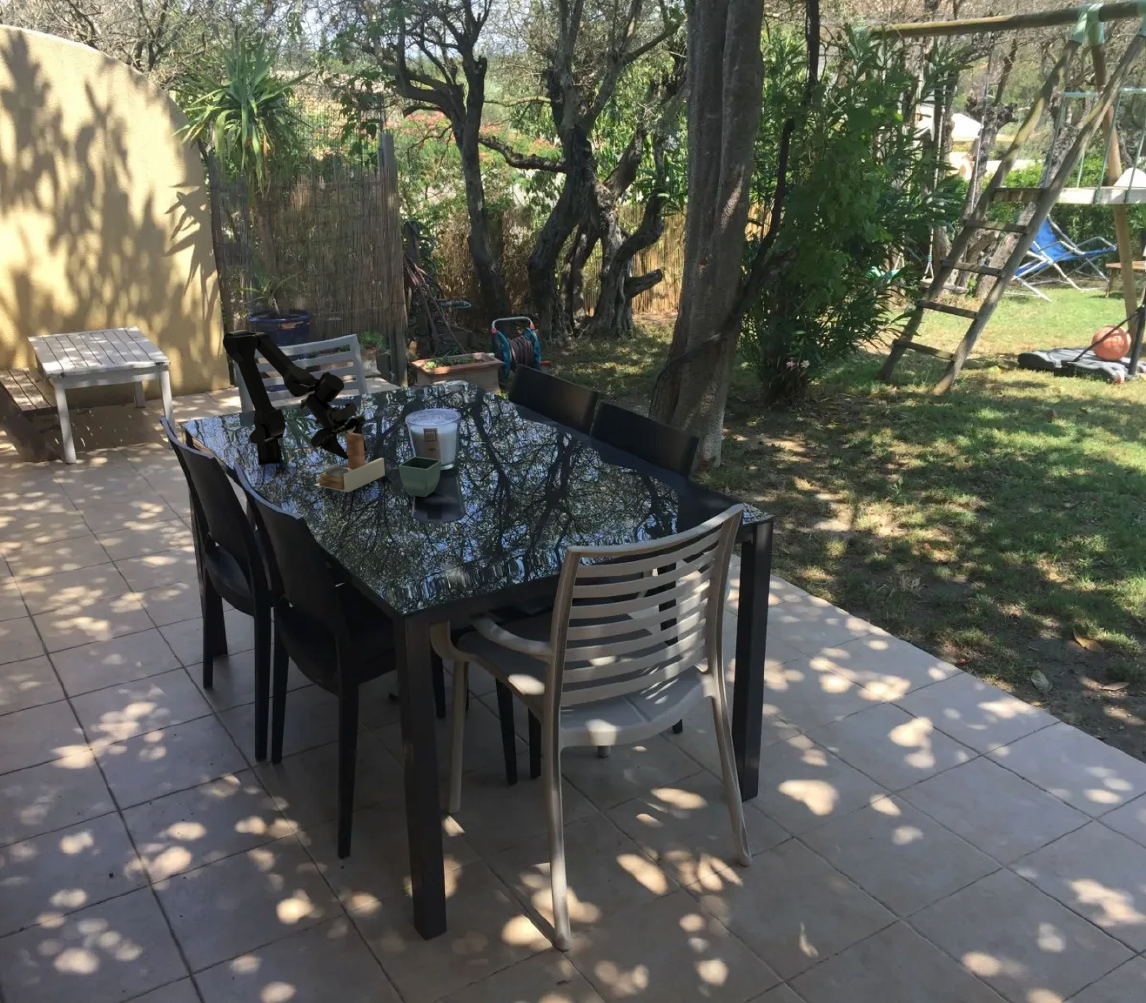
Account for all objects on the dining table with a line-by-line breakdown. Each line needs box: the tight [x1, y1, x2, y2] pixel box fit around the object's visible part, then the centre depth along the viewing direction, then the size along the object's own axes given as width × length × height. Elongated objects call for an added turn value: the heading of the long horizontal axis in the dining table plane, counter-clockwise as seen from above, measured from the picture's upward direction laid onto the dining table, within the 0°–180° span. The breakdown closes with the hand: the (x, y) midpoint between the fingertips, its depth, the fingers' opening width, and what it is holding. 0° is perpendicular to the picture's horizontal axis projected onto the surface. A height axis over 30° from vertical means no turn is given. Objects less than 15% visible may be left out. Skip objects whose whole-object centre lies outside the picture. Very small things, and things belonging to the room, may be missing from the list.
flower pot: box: [398, 456, 442, 498], centre depth 269 cm, size 9×9×9 cm
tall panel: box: [345, 432, 366, 469], centre depth 279 cm, size 4×2×12 cm, turn 63°
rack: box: [314, 457, 386, 493], centre depth 276 cm, size 12×16×6 cm
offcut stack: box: [318, 465, 348, 491], centre depth 272 cm, size 8×5×5 cm, turn 63°
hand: (356, 454), depth 279 cm, fingers open, 8 cm apart
